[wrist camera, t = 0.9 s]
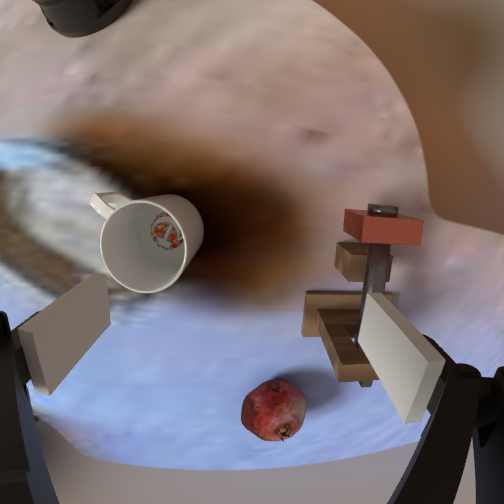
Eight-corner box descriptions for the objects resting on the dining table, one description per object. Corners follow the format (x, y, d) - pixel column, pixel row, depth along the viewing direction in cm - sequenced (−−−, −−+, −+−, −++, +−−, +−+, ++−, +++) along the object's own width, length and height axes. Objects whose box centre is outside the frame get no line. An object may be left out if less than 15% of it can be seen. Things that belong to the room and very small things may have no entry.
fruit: (232, 406, 46) (228, 452, 36) (258, 361, 44) (259, 406, 34) (285, 422, 46) (290, 468, 37) (314, 380, 44) (326, 425, 35)
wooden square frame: (305, 291, 41) (329, 346, 27) (390, 292, 41) (441, 340, 27) (301, 332, 43) (320, 398, 28) (382, 331, 43) (425, 388, 28)
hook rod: (345, 200, 34) (365, 206, 27) (397, 205, 34) (425, 211, 27) (327, 358, 38) (339, 388, 32) (374, 356, 38) (391, 384, 32)
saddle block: (336, 242, 40) (351, 254, 33) (373, 244, 40) (392, 256, 33) (334, 265, 40) (348, 281, 34) (370, 266, 40) (389, 282, 34)
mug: (220, 223, 39) (207, 240, 28) (178, 276, 41) (153, 311, 30) (145, 164, 38) (108, 161, 27) (108, 219, 39) (64, 235, 28)
